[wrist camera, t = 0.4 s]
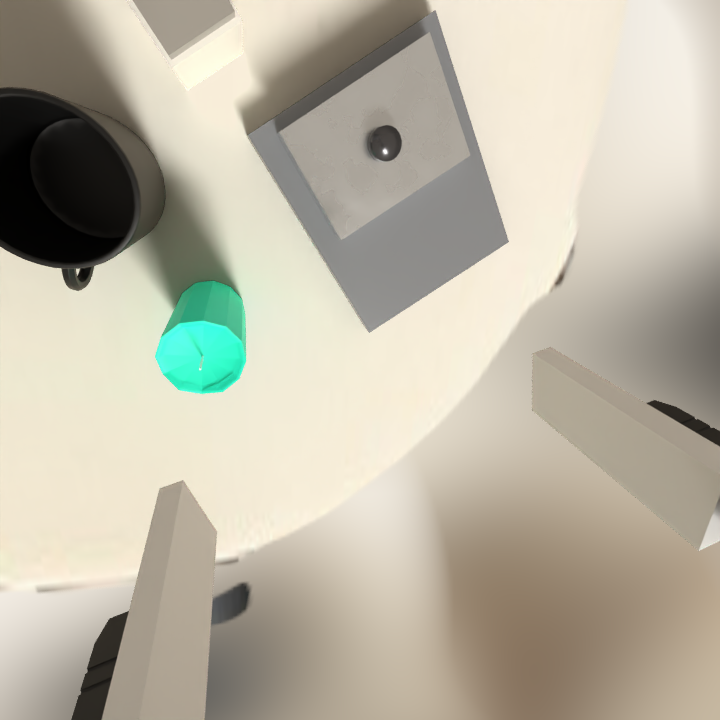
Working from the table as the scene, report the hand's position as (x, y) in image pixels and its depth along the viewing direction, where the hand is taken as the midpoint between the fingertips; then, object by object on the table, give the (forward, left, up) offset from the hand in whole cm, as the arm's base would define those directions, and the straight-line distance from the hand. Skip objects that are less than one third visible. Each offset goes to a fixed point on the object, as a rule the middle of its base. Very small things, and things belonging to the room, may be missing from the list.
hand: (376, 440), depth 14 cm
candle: (-1, -8, -26) cm, 28 cm away
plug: (-18, +4, -26) cm, 32 cm away
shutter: (-5, +12, -24) cm, 27 cm away
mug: (-13, -9, -27) cm, 31 cm away
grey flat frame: (-1, +12, -26) cm, 29 cm away
